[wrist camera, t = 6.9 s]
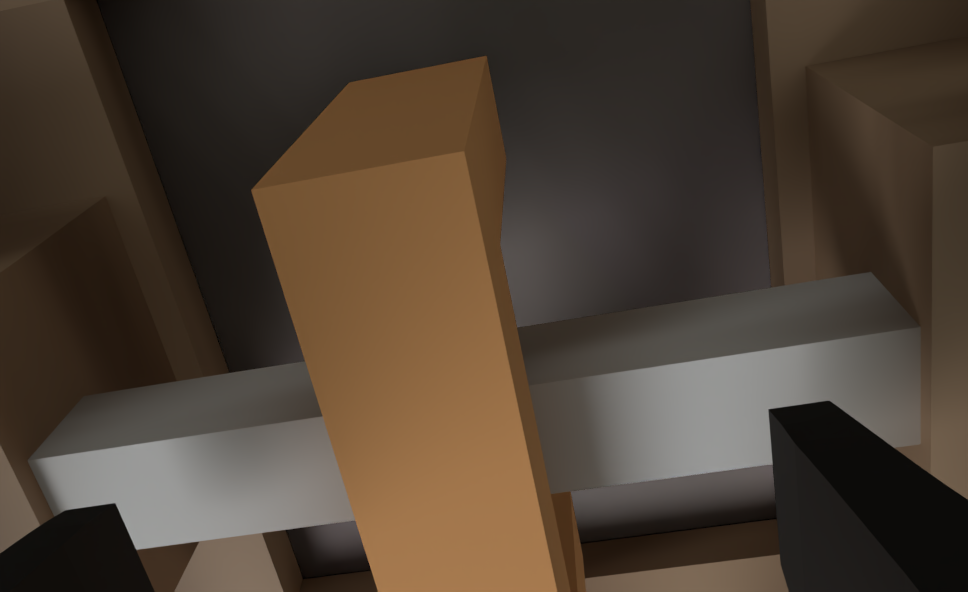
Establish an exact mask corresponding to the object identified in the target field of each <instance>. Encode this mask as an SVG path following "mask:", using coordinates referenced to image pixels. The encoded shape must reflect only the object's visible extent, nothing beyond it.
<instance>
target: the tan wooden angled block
mask: <svg viewBox="0 0 968 592" xmlns="http://www.w3.org/2000/svg"><path fill="white" fill-rule="evenodd" d="M505 170H506V154H505V149H504V143H503V138H502V133H501V128H500V123H499V117H498V112H497V107H496V102H495V97H494V91H493V86H492V81H491V76H490V71H489V65H488V60H487V56H482V57H477V58H472V59H467V60H462V61H457V62H451V63H446V64H441V65H436V66H431V67H426V68H421V69H416V70H410V71H405V72H400V73H395V74H390V75H385V76H380V77H375V78H369V79H364V80H359V81H354V82H349V83H348V84H347V85H346V86H345V87H344V89H343V90H342V91H341V92H340V93H339V94H338V95H337V96H336V97H335V98H334V100H333V101H332V102H331V103H330V104H329V105H328V106H327V107H326V108H325V109H324V111H323V112H322V113H321V114H320V115H319V116H318V117H317V118H316V119H315V120H314V121H313V123H312V124H311V125H310V126H309V127H308V128H307V129H306V130H305V131H304V132H303V134H302V135H301V136H300V137H299V138H298V139H297V140H296V141H295V142H294V143H293V144H292V146H291V147H290V148H289V149H288V150H287V151H286V152H285V153H284V154H283V155H282V157H281V158H280V159H279V160H278V161H277V162H276V163H275V164H274V165H273V166H272V168H271V169H270V170H269V171H268V172H267V173H266V174H265V175H264V176H263V177H262V178H261V180H260V181H259V182H258V183H257V184H256V185H255V186H254V187H253V188H252V189H251V192H252V195H253V198H254V201H255V204H256V207H257V211H258V214H259V217H260V220H261V223H262V226H263V230H264V233H265V236H266V239H267V242H268V245H269V249H270V252H271V255H272V258H273V261H274V264H275V267H276V271H277V274H278V277H279V280H280V283H281V286H282V290H283V293H284V296H285V299H286V302H287V305H288V309H289V312H290V315H291V318H292V321H293V324H294V328H295V331H296V334H297V337H298V340H299V343H300V347H301V350H302V353H303V356H304V359H305V362H306V366H307V369H308V372H309V375H310V378H311V381H312V384H313V388H314V391H315V394H316V397H317V400H318V403H319V407H320V410H321V413H322V416H323V419H324V422H325V426H326V429H327V432H328V435H329V438H330V441H331V445H332V448H333V451H334V454H335V457H336V460H337V464H338V467H339V470H340V473H341V476H342V479H343V483H344V486H345V489H346V492H347V495H348V498H349V501H350V505H351V508H352V511H353V514H354V517H355V520H356V524H357V527H358V530H359V533H360V536H361V539H362V543H363V546H364V549H365V552H366V555H367V558H368V562H369V565H370V568H371V571H372V574H373V577H374V581H375V584H376V587H377V590H378V592H586V586H585V575H584V563H583V554H582V549H581V544H580V539H579V534H578V528H577V523H576V518H575V513H574V508H573V502H572V497H571V492H562V493H555V494H551V493H550V488H549V483H548V478H547V473H546V468H545V463H544V458H543V453H542V448H541V443H540V438H539V434H538V429H537V424H536V419H535V414H534V409H533V404H532V399H531V394H530V389H529V384H528V379H527V375H526V370H525V365H524V360H523V355H522V350H521V345H520V340H519V335H518V330H517V325H516V320H515V316H514V311H513V306H512V301H511V296H510V291H509V286H508V281H507V276H506V271H505V266H504V261H503V257H502V252H501V247H500V239H501V225H502V212H503V198H504V184H505Z"/></svg>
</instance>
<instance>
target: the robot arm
mask: <svg viewBox="0 0 968 592" xmlns="http://www.w3.org/2000/svg"><path fill="white" fill-rule="evenodd" d="M768 412H769V424H770V437H771V449H772V462H773V475H774V487H775V500H776V512H777V525H778V538H779V550H780V563H781V567H782V571H783V574H784V577H785V581H786V584H787V587H788V590H789V592H968V499H966V498H965V497H963V496H962V495H960V494H959V493H957V492H956V491H954V490H953V489H951V488H950V487H948V486H947V485H945V484H944V483H943V482H941V481H940V480H938V479H937V478H935V477H934V476H933V475H931V474H930V473H928V472H927V471H926V470H924V469H923V468H921V467H920V466H919V465H917V464H916V463H914V462H913V461H912V460H910V459H909V458H907V457H906V456H905V455H903V454H902V453H901V452H899V451H898V450H896V449H895V448H894V447H892V446H891V445H890V444H888V443H887V442H885V441H884V440H883V439H881V438H880V437H879V436H877V435H876V434H875V433H873V432H872V431H871V430H869V429H868V428H866V427H865V426H864V425H862V424H861V423H860V422H858V421H857V420H855V419H854V418H853V417H851V416H850V415H849V414H847V413H846V412H845V411H843V410H842V409H840V408H839V407H838V406H836V405H835V404H833V403H832V402H831V401H822V402H815V403H808V404H801V405H794V406H787V407H780V408H773V409H768ZM0 592H155V591H154V589H153V586H152V584H151V582H150V580H149V577H148V575H147V573H146V571H145V568H144V566H143V564H142V562H141V559H140V557H139V555H138V553H137V550H136V548H135V546H134V544H133V542H132V539H131V537H130V535H129V533H128V530H127V528H126V526H125V524H124V521H123V519H122V517H121V515H120V512H119V510H118V508H117V506H116V503H112V504H105V505H98V506H91V507H84V508H77V509H70V510H65V511H63V512H61V513H60V514H58V515H56V516H55V517H53V518H52V519H50V520H48V521H47V522H45V523H43V524H42V525H40V526H39V527H37V528H36V529H34V530H33V531H31V532H30V533H28V534H27V535H25V536H24V537H23V538H21V539H20V540H18V541H17V542H15V543H14V544H13V545H11V546H10V547H8V548H7V549H6V550H4V551H3V552H1V553H0Z"/></svg>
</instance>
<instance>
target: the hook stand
mask: <svg viewBox="0 0 968 592" xmlns="http://www.w3.org/2000/svg"><path fill="white" fill-rule="evenodd" d="M750 4H751V18H752V31H753V45H754V59H755V73H756V86H757V100H758V114H759V127H760V141H761V155H762V168H763V182H764V196H765V210H766V223H767V237H768V251H769V264H770V278H771V288H766V289H759V290H753V291H747V292H740V293H734V294H728V295H721V296H715V297H709V298H702V299H696V300H690V301H683V302H677V303H671V304H664V305H658V306H651V307H645V308H639V309H632V310H626V311H620V312H613V313H607V314H601V315H594V316H588V317H582V318H575V319H569V320H563V321H556V322H550V323H544V324H537V325H531V326H525V327H518V328H517V330H518V335H519V340H520V345H521V350H522V355H523V360H524V365H525V370H526V375H527V379H528V384H529V389H530V394H531V399H532V404H533V409H534V414H535V419H536V424H537V429H538V434H539V438H540V443H541V448H542V453H543V458H544V463H545V468H546V473H547V478H548V483H549V488H550V493H551V494H555V493H562V492H570V491H577V490H585V489H592V488H599V487H607V486H614V485H622V484H629V483H636V482H644V481H651V480H659V479H666V478H674V477H681V476H688V475H696V474H703V473H711V472H718V471H726V470H733V469H740V468H748V467H755V466H763V465H770V464H773V462H772V449H771V437H770V424H769V412H768V409H773V408H780V407H787V406H794V405H801V404H808V403H815V402H822V401H831V402H832V403H833V404H835V405H836V406H838V407H839V408H840V409H842V410H843V411H845V412H846V413H847V414H849V415H850V416H851V417H853V418H854V419H855V420H857V421H858V422H860V423H861V424H862V425H864V426H865V427H866V428H868V429H869V430H871V431H872V432H873V433H875V434H876V435H877V436H879V437H880V438H881V439H883V440H884V441H885V442H887V443H888V444H890V445H891V446H892V447H894V448H895V449H896V450H898V451H899V452H901V453H902V454H903V455H905V456H906V457H907V458H909V459H910V460H912V461H913V462H914V463H916V464H917V465H919V466H920V467H921V468H923V469H924V470H926V471H927V472H928V473H930V474H931V475H933V476H934V477H935V478H937V479H938V480H940V481H941V482H943V483H944V484H945V485H947V486H948V487H950V488H951V489H953V490H954V491H956V492H957V493H959V494H960V495H962V496H963V497H965V498H966V499H968V0H750ZM112 503H116V506H117V508H118V510H119V512H120V515H121V517H122V519H123V521H124V524H125V526H126V528H127V530H128V533H129V535H130V537H131V539H132V542H133V544H134V546H135V548H136V550H137V553H138V555H139V557H140V559H141V562H142V564H143V566H144V568H145V571H146V573H147V575H148V577H149V580H150V582H151V584H152V586H153V589H154V591H155V592H378V590H377V587H376V584H375V581H374V577H373V574H372V571H364V572H357V573H349V574H341V575H333V576H325V577H317V578H309V579H303V577H302V575H301V572H300V569H299V566H298V563H297V561H296V558H295V555H294V552H293V549H292V547H291V544H290V541H289V538H288V535H287V533H286V530H287V529H295V528H302V527H310V526H317V525H325V524H332V523H339V522H347V521H354V520H355V517H354V514H353V511H352V508H351V505H350V501H349V498H348V495H347V492H346V489H345V486H344V483H343V479H342V476H341V473H340V470H339V467H338V464H337V460H336V457H335V454H334V451H333V448H332V445H331V441H330V438H329V435H328V432H327V429H326V426H325V422H324V419H323V416H322V413H321V410H320V407H319V403H318V400H317V397H316V394H315V391H314V388H313V384H312V381H311V378H310V375H309V372H308V369H307V366H306V362H305V361H303V362H296V363H290V364H284V365H277V366H271V367H265V368H258V369H252V370H246V371H239V372H233V373H229V370H228V368H227V365H226V362H225V359H224V356H223V354H222V351H221V348H220V345H219V342H218V340H217V337H216V334H215V331H214V328H213V326H212V323H211V320H210V317H209V314H208V312H207V309H206V306H205V303H204V300H203V298H202V295H201V292H200V289H199V286H198V284H197V281H196V278H195V275H194V272H193V270H192V267H191V264H190V261H189V258H188V256H187V253H186V250H185V247H184V244H183V242H182V239H181V236H180V233H179V230H178V228H177V225H176V222H175V219H174V216H173V214H172V211H171V208H170V205H169V202H168V200H167V197H166V194H165V191H164V188H163V186H162V183H161V180H160V177H159V174H158V172H157V169H156V166H155V163H154V161H153V158H152V155H151V152H150V149H149V147H148V144H147V141H146V138H145V135H144V133H143V130H142V127H141V124H140V121H139V119H138V116H137V113H136V110H135V107H134V105H133V102H132V99H131V96H130V93H129V91H128V88H127V85H126V82H125V79H124V77H123V74H122V71H121V68H120V65H119V63H118V60H117V57H116V54H115V51H114V49H113V46H112V43H111V40H110V37H109V35H108V32H107V29H106V26H105V23H104V21H103V18H102V15H101V12H100V9H99V7H98V4H97V1H96V0H0V553H1V552H3V551H4V550H6V549H7V548H8V547H10V546H11V545H13V544H14V543H15V542H17V541H18V540H20V539H21V538H23V537H24V536H25V535H27V534H28V533H30V532H31V531H33V530H34V529H36V528H37V527H39V526H40V525H42V524H43V523H45V522H47V521H48V520H50V519H52V518H53V517H55V516H56V515H58V514H60V513H61V512H63V511H65V510H70V509H77V508H84V507H91V506H98V505H105V504H112ZM581 549H582V554H583V563H584V575H585V586H586V592H789V590H788V587H787V584H786V581H785V577H784V574H783V571H782V567H781V563H780V550H779V538H778V525H777V519H772V520H765V521H757V522H749V523H741V524H733V525H725V526H718V527H710V528H702V529H694V530H686V531H678V532H670V533H663V534H655V535H647V536H639V537H631V538H623V539H616V540H608V541H600V542H592V543H584V544H581Z"/></svg>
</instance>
